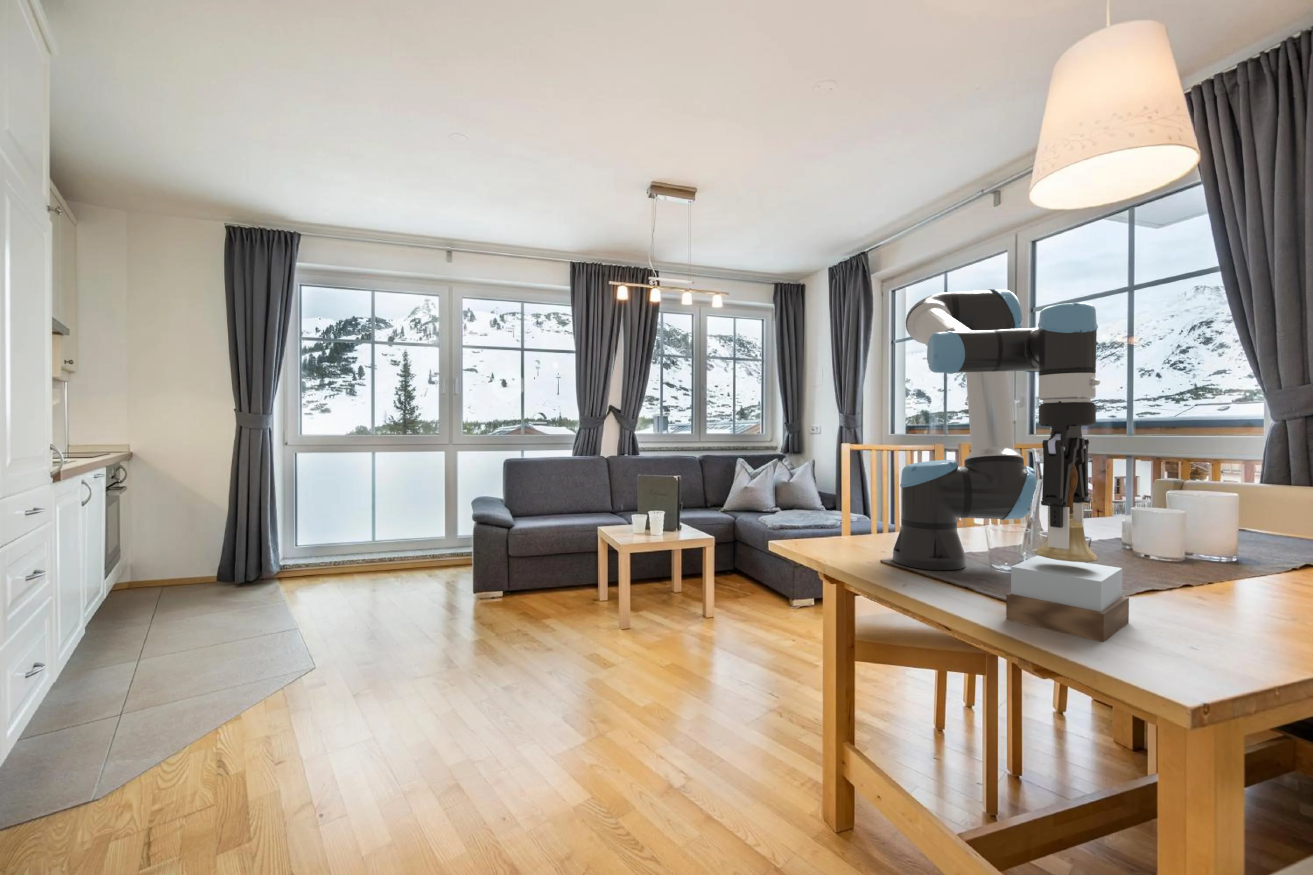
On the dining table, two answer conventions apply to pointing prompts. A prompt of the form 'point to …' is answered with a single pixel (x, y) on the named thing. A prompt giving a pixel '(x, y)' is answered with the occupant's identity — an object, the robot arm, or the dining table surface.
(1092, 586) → the top block
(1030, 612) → the bottom block
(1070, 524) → the hand bell
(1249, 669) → the dining table surface
